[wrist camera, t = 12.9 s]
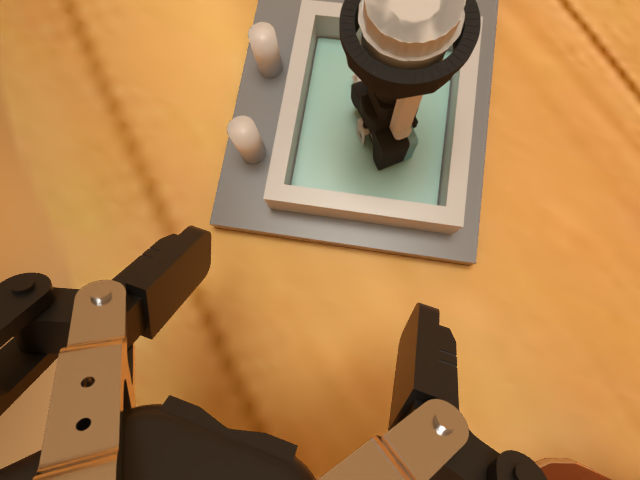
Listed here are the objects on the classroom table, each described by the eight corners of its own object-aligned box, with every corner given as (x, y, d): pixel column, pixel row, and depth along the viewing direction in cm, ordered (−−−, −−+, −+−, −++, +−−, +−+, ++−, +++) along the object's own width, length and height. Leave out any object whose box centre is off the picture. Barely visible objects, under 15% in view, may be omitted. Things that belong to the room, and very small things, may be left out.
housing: (215, 227, 24) (190, 210, 20) (271, -36, 27) (260, -95, 23) (469, 265, 22) (497, 255, 18) (494, -16, 26) (522, -75, 22)
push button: (319, 93, 24) (304, -61, 14) (396, 64, 24) (436, -110, 14) (358, 185, 22) (373, 88, 12) (440, 154, 22) (518, 33, 13)
